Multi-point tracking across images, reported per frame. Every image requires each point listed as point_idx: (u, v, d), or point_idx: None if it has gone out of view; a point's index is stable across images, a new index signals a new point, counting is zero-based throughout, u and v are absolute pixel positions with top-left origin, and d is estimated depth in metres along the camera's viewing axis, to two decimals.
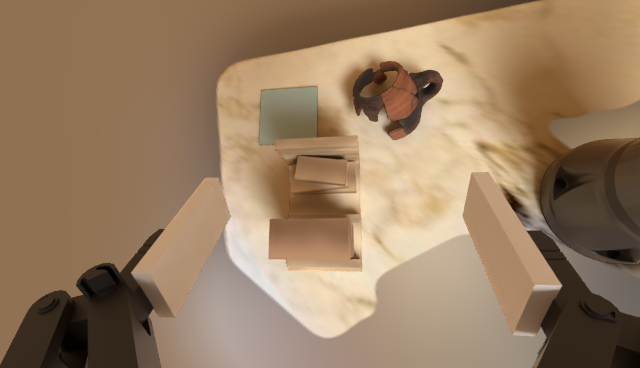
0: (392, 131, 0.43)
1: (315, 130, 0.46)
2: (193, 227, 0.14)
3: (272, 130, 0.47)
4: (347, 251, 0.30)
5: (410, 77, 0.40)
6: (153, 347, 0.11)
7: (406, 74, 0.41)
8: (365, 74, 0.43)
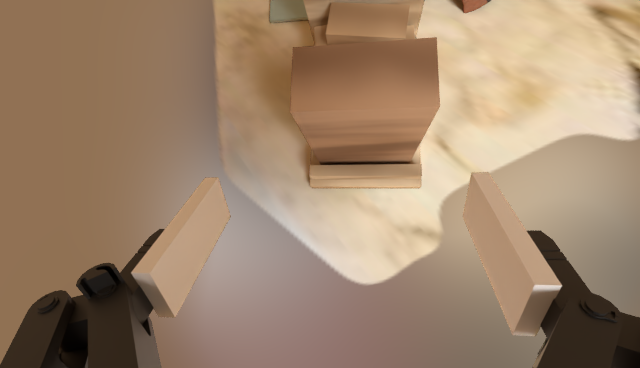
0: None
1: None
2: (193, 227, 0.14)
3: (288, 0, 0.34)
4: (437, 92, 0.16)
5: None
6: (153, 347, 0.11)
7: None
8: None
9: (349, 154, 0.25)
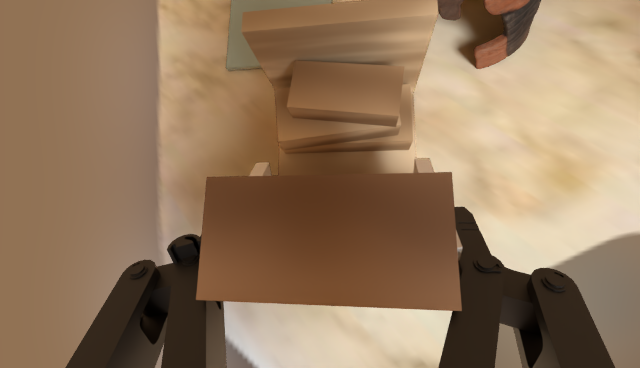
0: (482, 46, 0.22)
1: None
2: None
3: None
4: (455, 281, 0.09)
5: None
6: (221, 321, 0.12)
7: None
8: None
9: None
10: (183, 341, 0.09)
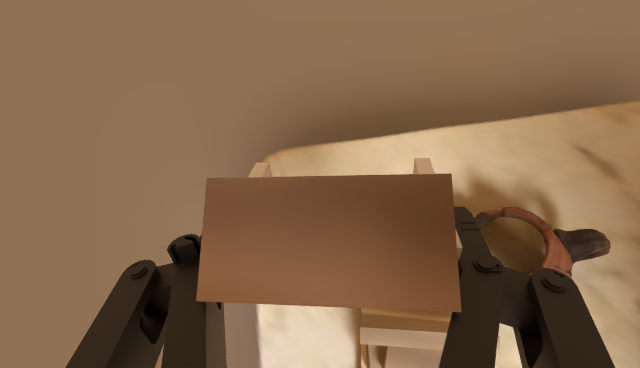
0: None
1: None
2: None
3: None
4: (455, 282, 0.09)
5: (560, 242, 0.26)
6: (221, 321, 0.12)
7: None
8: (479, 222, 0.29)
9: None
10: (183, 341, 0.09)
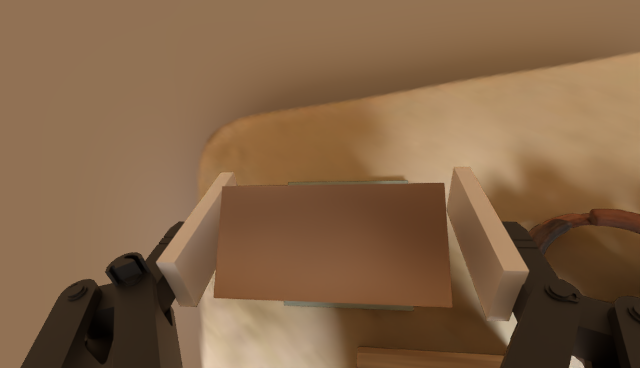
0: None
1: None
2: (212, 220, 0.14)
3: None
4: (447, 281, 0.10)
5: None
6: (174, 337, 0.11)
7: None
8: (553, 236, 0.17)
9: None
10: (134, 362, 0.09)
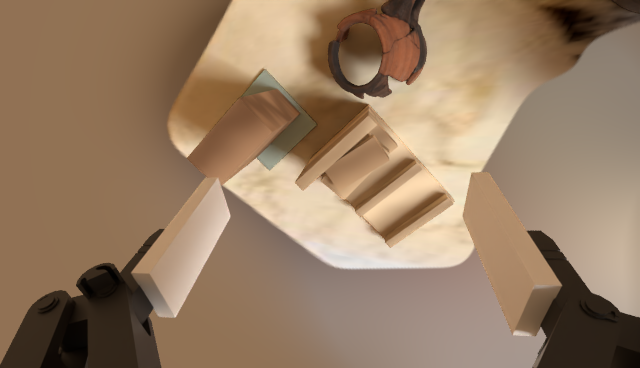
0: (410, 80, 0.33)
1: (305, 115, 0.38)
2: (193, 228, 0.14)
3: (267, 148, 0.40)
4: (264, 126, 0.27)
5: (388, 16, 0.28)
6: (153, 347, 0.11)
7: (381, 17, 0.29)
8: (333, 53, 0.32)
9: None
10: None
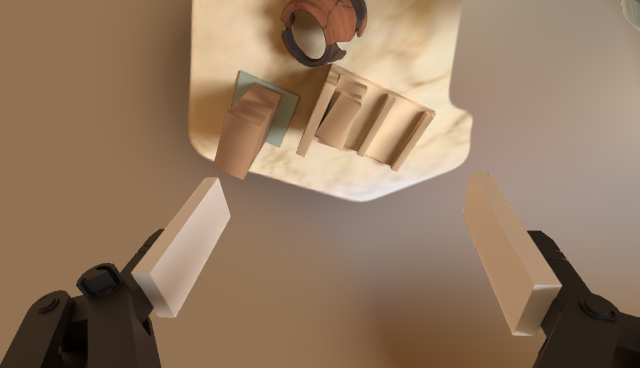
0: (359, 33, 0.38)
1: (287, 93, 0.45)
2: (193, 227, 0.14)
3: (270, 131, 0.48)
4: (253, 124, 0.35)
5: None
6: (153, 347, 0.11)
7: None
8: (287, 41, 0.37)
9: (266, 132, 0.45)
10: None
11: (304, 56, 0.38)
